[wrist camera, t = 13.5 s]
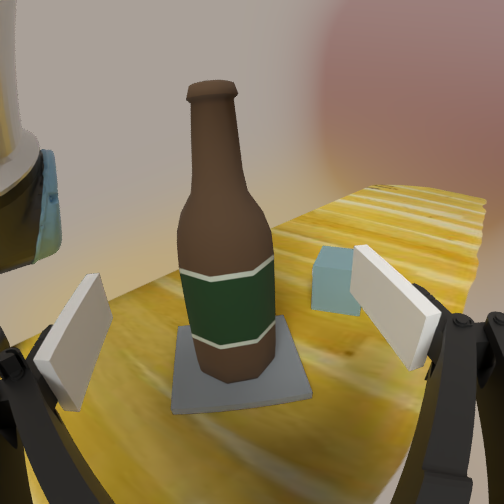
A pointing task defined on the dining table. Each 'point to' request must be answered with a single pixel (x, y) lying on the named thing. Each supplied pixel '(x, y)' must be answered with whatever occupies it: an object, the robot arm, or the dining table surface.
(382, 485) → the dining table surface
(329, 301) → the letter block
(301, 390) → the mat
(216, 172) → the beer bottle
